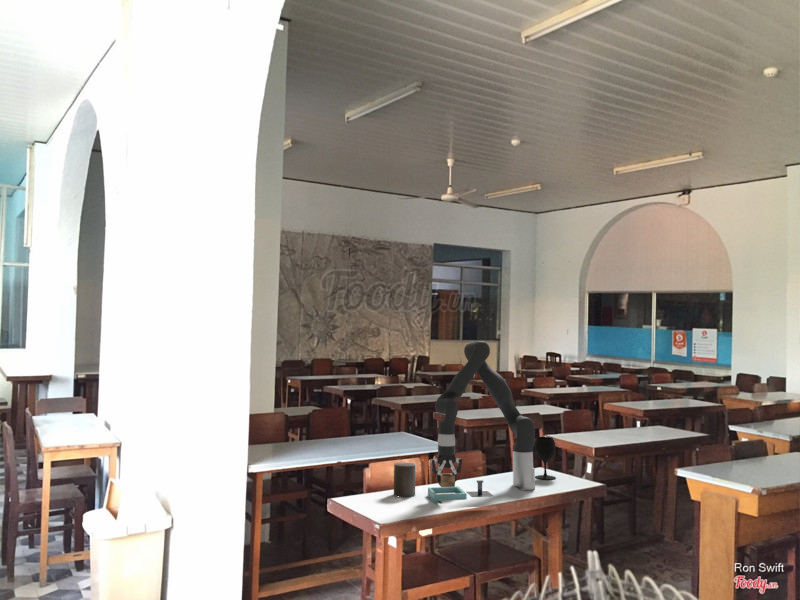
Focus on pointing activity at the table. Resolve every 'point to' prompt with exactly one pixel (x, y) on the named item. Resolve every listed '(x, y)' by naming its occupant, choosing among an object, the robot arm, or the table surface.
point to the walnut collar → (447, 480)
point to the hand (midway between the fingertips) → (446, 482)
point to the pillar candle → (404, 479)
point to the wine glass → (545, 454)
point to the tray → (438, 497)
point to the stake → (480, 491)
